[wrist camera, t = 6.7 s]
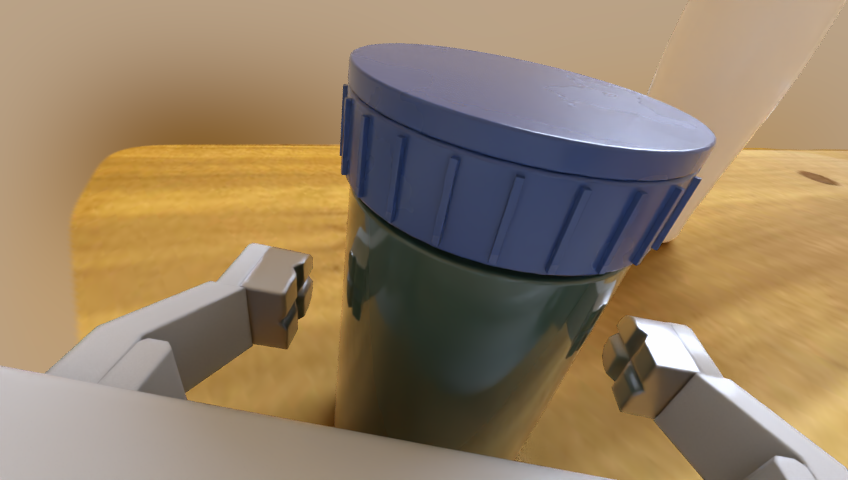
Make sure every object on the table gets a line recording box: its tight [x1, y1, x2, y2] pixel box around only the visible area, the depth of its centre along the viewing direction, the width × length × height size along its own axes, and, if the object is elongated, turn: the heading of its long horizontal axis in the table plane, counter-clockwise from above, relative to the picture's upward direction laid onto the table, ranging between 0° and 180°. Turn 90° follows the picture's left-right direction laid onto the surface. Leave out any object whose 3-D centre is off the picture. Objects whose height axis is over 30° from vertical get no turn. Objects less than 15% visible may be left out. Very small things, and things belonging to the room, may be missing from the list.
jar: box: [334, 186, 631, 461], centre depth 10 cm, size 6×6×11 cm
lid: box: [340, 43, 716, 276], centre depth 7 cm, size 6×6×2 cm
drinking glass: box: [647, 0, 847, 243], centre depth 24 cm, size 7×7×15 cm
